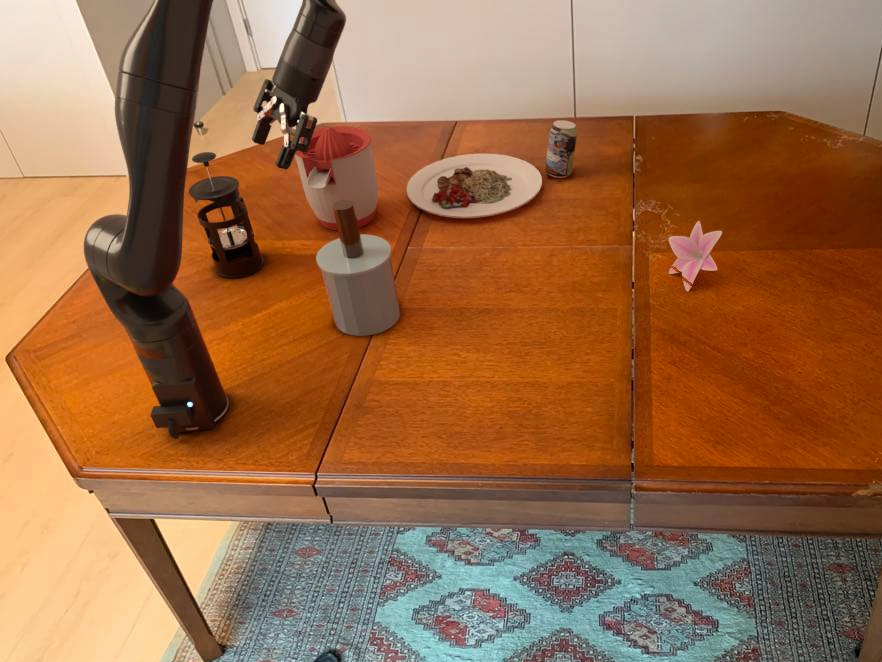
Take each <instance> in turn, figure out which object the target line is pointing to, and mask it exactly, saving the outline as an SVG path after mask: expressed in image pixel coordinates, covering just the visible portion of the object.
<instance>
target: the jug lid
mask: <svg viewBox="0 0 882 662" xmlns="http://www.w3.org/2000/svg"><path fill="white" fill-rule="evenodd" d="M333 211H334V215H335V220H336V224H337V228H338V230H337V232H338V238H335V239H333V240H331V241H329V242H327V243H326V244H324V245H323V246H322V247H320V249H319V250H318V251H317V253H316V257H315V260H316V265H317V267H318V268H319V269H320V271H321V270H322V271H324V272H325V273H328V274H331V275H335V276H357V275H362V274H366V273H369V272H372V271H374V270H376V269H378V268H380V267H382V266H383V265H384V264H385V263H387V261H388V260H389V259H390V258H391V257H392V246H391V244H390V243H389V242H388V240H386V239H385V238H383V237H381V236H379V235H373V234H367V233H366V234H364V233H362V234H361V232H360V231H361V230H360V228H359V226H358V222H357V217H356V212H355V207H354V203H353V202H352V201H350V200H340V201H337V202H335V203H334V204H333Z"/></svg>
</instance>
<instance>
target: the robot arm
mask: <svg viewBox="0 0 882 662" xmlns="http://www.w3.org/2000/svg"><path fill="white" fill-rule="evenodd" d="M213 4H214V0H153V1H152V3H151V5H150V7H149V8H148V9H147V12H146V13H145V14H144V16H143V17H142V18H141V20H140V22H139V23H138V25H137V26H136V28H135V29H134V31H133V32H132V33H131V35H130V37H129V38H128V40H127V42H126V43H125V46H124V48H123V49H122V53H121V55H120V58H119V65H118V71H117V80H116V88H115V96H114V118H115V125H116V130H117V133H118V138H119V143H120V146H121V150H122V154H123V157H124V160H125V164H126V168H127V169H126V170H127V176H128V186H129V187H128V189H129V192H128V202H127V212H126V215H125V214H121V213H113V214H107V215H104V216H101V217H100V218H97V219H96V220H95V221H93V223H92V224H91V225H90V226H89V227H88V229H87V231H86V233H85V236H84V240H83V256H84V260H85V262H86V266H87V269H88V270H89V273H90V275H91V276H92V278H93V280H94V282H95V284H96V286H97V288H98V290H99V293H100V294H101V295H102V298H103V299H104V301H105V303H106V305H107V307H108V309H109V310H110V312H111V313H112V315H113V316H114V318H115V319H116V320H118V322H119V323H120V324H121V326H122V327H123V328H124V330H125V332H126V334H127V336H128V338H129V340H130V342H131V345H132V347H133V349H134V351H135V353H136V355H137V357H138V360H139V362H140V364H141V366H142V368H143V370H144V372H145V374H146V377H147V378H148V380H149V381H148V382H149V383H150V386H151V390H152V391H153V393H154V395H155V398H156V400H157V402H158V404H159V405H154V406H152V408H151V412H150V414H149V415H150V418H151V420H152V422H153V424H154V426H155V428H156V429H165V428H167V429H168V430H167V431H168V434H169V436H170V437H171V438H172V439H174V440H178V439H180V435H179V434H180V433H188V432H196V431H206V430H212V429H215V425H216V424H217V423H219V422H220V421H221V420H222V419H223V418H224V417H225V416H226V415H227V413H228V412H229V409H230V400H229V397H228V396H227V394H226V392H225V390H224V387H223V385H222V382H221V380H220V377H219V374H218V371H217V369H216V367H215V364H214V361H213V359H212V357H211V354H210V351H209V349H208V345H207V344H206V342H205V339H204V336H203V334H202V331H201V329H200V326H199V324H198V321H197V318H196V316H195V313H194V311H193V309H192V305H191V304H190V302H189V299H188V298H187V297H186V295H185V294H184V293H183V292H182V291H181V290H180V289H178V287H176V286H175V284H174V282H175V280H176V278H177V275H178V274H179V270H180V267H181V263H182V253H183V235H184V234H183V233H184V231H183V229H184V202H185V191H186V190H185V189H186V181H187V174H188V166H189V157H190V149H191V140H192V135H193V129H194V124H195V118H196V113H197V105H198V100H199V99H198V97H199V91H200V82H201V81H200V80H201V73H202V72H201V71H202V65H203V64H202V63H203V58H204V53H205V46H206V41H207V35H208V29H209V24H210V18H211V14H212V13H211V12H212V8H213ZM346 24H347V15H346V13H345V11H344V10H343V9H342V8H341V7H340V5H339V4H338V3H337V0H302V3H301V5H300V8H299V11H298V13H297V16H296V18H295V21H294V23H293V26H292V28H291V30H290V33H289V34H288V36H287V38H286V39H285V43H284V45H283V48H282V51H281V53H280V55H279V59H278V62H277V64H276V67H275V70H274V72H273V74H272V78H271V79H267V78H266V79H264V81H263V83H262V85H261V88H260V91H259V92H258V95H257V98H256V100H255V102H254V105H253V108H252V109H253V112H255V113H256V114H257V115H256V119H257V123H256V124H255V125H256V126H255V127H254V130H253V133H252V137H251V140H252V142H253V143H254V144H257V145H261V146H263V145H265V144H266V142H267V140H268V136H269V134H270V131H271V129H272V125H271V124H274V123H275V122H276V121H277V122H278V123H279V125H280V131H281V133H282V134H283V145H281V149H280V151H279V154H278V156H277V158H276V161H275V166H276V167H277V168H278V169H281V170H288V169H290V167H291V165H292V163H293V160H294V158H295V153H296V151H302V152H306V151H307V149H308V146H309V143H310V141H311V138H312V135H313V132H314V131H315V130H316V127H317V126H316V125H317V124H318V119H317V117H315V116H312V115H310V114H308V110H309V109H308V108H309V105H310V104H314V103H316V102H317V101H318V99H319V96H320V94H321V92H322V89H323V86H324V84H325V82H326V79H327V76H328V73H329V71H330V69H331V66H332V63H333V60H334V56H335V52H336V50H337V47H338V44H339V42H340V39H341V36H342V34H343V32H344V29H345V26H346ZM264 102H266V103H265V104H264V105H263V103H264ZM262 105H263V106H262ZM291 137H292V139H291ZM301 137H304V139H303V142H302V144H301Z"/></svg>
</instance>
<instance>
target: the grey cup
mask: <svg viewBox="0 0 882 662" xmlns="http://www.w3.org/2000/svg"><path fill="white" fill-rule="evenodd" d="M392 264H393V263H392V260H391V257H390V259H389V260H388V261H387V263H385V264H384V265H383V266H382V267H380V268H378V269H376V270H374V271H372V272H369V273H366V274H362V275H357V276H335V275H331V274H328V273H325V272H324V271H322V270H321V269H320V271H321V274H322V279H323V284H324V287H325V290H326V295H327V299H328V303H329V306H330V311H331V315H332V318H333V322H334V324H335V326H336V328H337V329H338V330H339V331H340V332H342V333H345V334H346V335H349V336H355V337H356V336H357V337H366V336H373V335H376V334H377V335H378V334H380V333H383V332H384V331H386V330H389V329H390V328H391V327H393V326H394V325H395V324H396V323H397V322H398V320H399V319H400V316H401V310H400V309H401V307H400V302H399V297H398V291H397V287H396V285H397V284H396V281H395V275H394V270H393V265H392Z"/></svg>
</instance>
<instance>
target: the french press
mask: <svg viewBox="0 0 882 662" xmlns="http://www.w3.org/2000/svg"><path fill="white" fill-rule="evenodd" d="M216 158H217V153H215V152H212V151H204V152H200V153H197V154H195V155H193V156H192V158H191V161H192V162H193V163H195V164H196V163H197V164H203V166H204V168H206V172H207V173H208V177H207V178H204V179H201V180H199V181H197V182H195V183H194V184H192V185H190V186H191V187H189V188H188V195H189V196H190V197H191V198H192V199H193V201H194V203H195V204H197V203H198V201H209V202H210V203H208V204H207V205H205V206H203V207H201V208H200V209H199V211H198V212H197V213H196V217H197V220H198V223H199V225H200V226H201V227H202V228H203V229H204V232H205V235H206V237H207V243H208V245H209V246H210V249H211V251H212V252H211V259H212V262H213V264H214V271H215V274H217V276H219V277H221V278H223V279H231V280H232V279H234V280H235V279H242V278H245V277H248V276H252V275H254V274H256V273H257V272H258V271H260V270H261V269H262V268H263V266H264V264H265V259H264V257H263V255H262V253H261V250H260V247H259V244H258V243H257V242H256V240H255V233H254V231H253V227H252V224H251V220H250V218H249V217H250V216H249V211H248V207H247V205H246V203H245V200H244V197H242V196H240V191H239V187H240V182H239V180H238V179H237V178H235V177H233V176H227V175H219V176H218V175H217V176H212V174H211V171H210V168H209V167H210V162H211V161H214V160H215V159H216ZM226 207H228V208H229V207H230V209H231V212H232V215H233V218H231V219H226V216H225V213H224V210H223V208H226ZM217 209H219V210H220V214H221V217H222V220H223V221H217V222H216V221H215V222H212V221H209V218H208V216H207V214H208V213H210V212H212V211H214V210H217ZM241 256H242V257H243V256H247V257H248V256H249V257H248V258H245V259H242V260H240V261H235V262H229V260H231V259H233V258H236V257H241Z"/></svg>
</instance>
